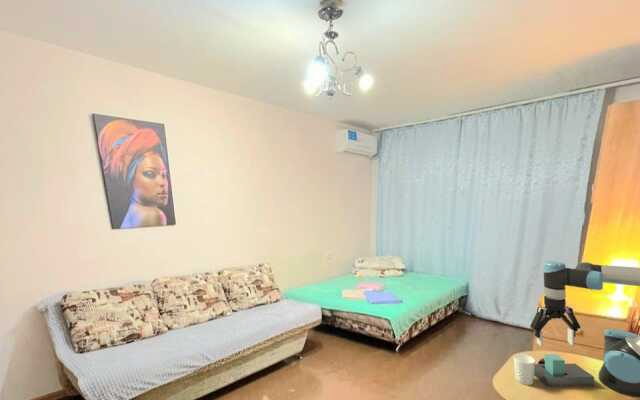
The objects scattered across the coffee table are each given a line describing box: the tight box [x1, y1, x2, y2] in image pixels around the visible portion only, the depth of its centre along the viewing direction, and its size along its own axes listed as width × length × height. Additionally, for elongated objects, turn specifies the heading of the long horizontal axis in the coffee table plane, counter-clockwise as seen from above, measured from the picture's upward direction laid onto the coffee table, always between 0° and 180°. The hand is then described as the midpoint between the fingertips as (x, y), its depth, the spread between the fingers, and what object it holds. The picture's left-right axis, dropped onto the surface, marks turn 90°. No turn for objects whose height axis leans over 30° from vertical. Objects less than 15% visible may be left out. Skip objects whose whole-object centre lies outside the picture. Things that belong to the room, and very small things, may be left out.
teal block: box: [544, 353, 566, 375], centre depth 136 cm, size 5×5×10 cm
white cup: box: [513, 353, 536, 386], centre depth 136 cm, size 8×8×10 cm
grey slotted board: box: [534, 363, 595, 388], centre depth 136 cm, size 20×10×4 cm, turn 89°
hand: (555, 344), depth 135 cm, fingers open, 13 cm apart
